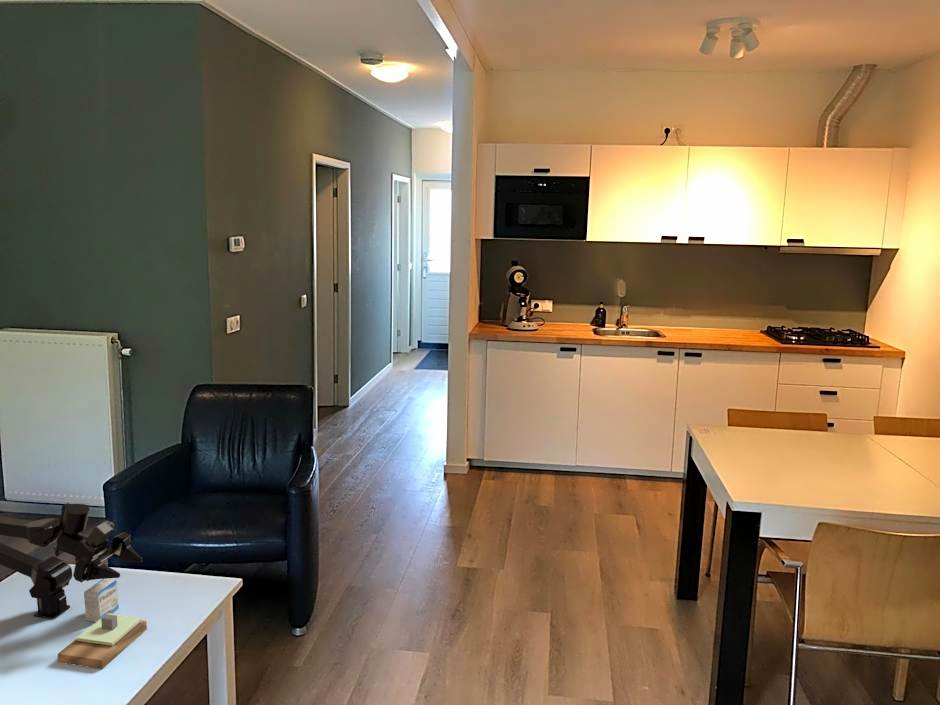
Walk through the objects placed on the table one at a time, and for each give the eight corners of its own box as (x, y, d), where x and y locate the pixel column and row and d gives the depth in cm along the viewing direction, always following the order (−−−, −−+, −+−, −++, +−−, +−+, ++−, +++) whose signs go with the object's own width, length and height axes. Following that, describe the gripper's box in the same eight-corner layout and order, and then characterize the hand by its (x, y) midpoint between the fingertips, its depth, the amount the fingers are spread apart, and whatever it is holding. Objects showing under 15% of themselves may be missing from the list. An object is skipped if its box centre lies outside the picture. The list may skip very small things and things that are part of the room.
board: (58, 662, 185) (57, 653, 184) (106, 623, 202) (105, 615, 202) (102, 669, 183) (101, 660, 182) (146, 629, 200) (146, 621, 200)
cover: (76, 640, 189) (75, 626, 189) (107, 615, 201) (106, 602, 200) (112, 645, 188) (111, 631, 187) (141, 620, 199) (140, 607, 198)
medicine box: (100, 623, 202) (98, 593, 201) (85, 621, 203) (83, 591, 202) (119, 608, 210) (117, 579, 208) (105, 606, 211) (103, 577, 209)
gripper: (60, 533, 191) (114, 556, 188) (109, 506, 209) (158, 527, 207) (52, 571, 193) (105, 594, 191) (101, 541, 211) (149, 563, 209)
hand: (130, 568), depth 199 cm, fingers open, 9 cm apart
